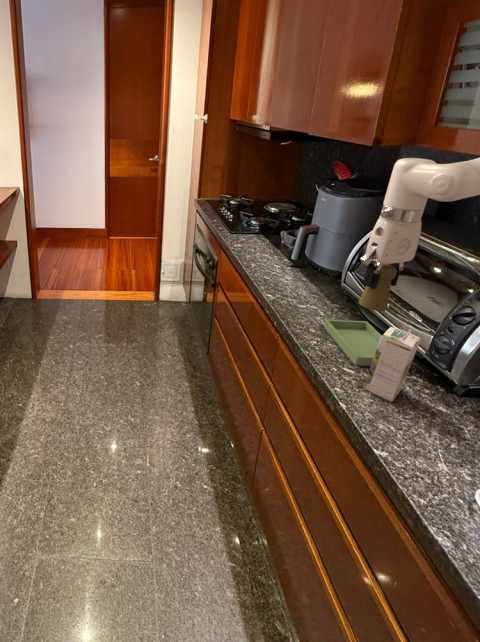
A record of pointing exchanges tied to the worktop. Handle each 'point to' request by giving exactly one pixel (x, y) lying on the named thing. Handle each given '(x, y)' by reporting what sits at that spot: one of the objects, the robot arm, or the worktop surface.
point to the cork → (379, 290)
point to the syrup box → (391, 363)
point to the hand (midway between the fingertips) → (379, 284)
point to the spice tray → (355, 339)
